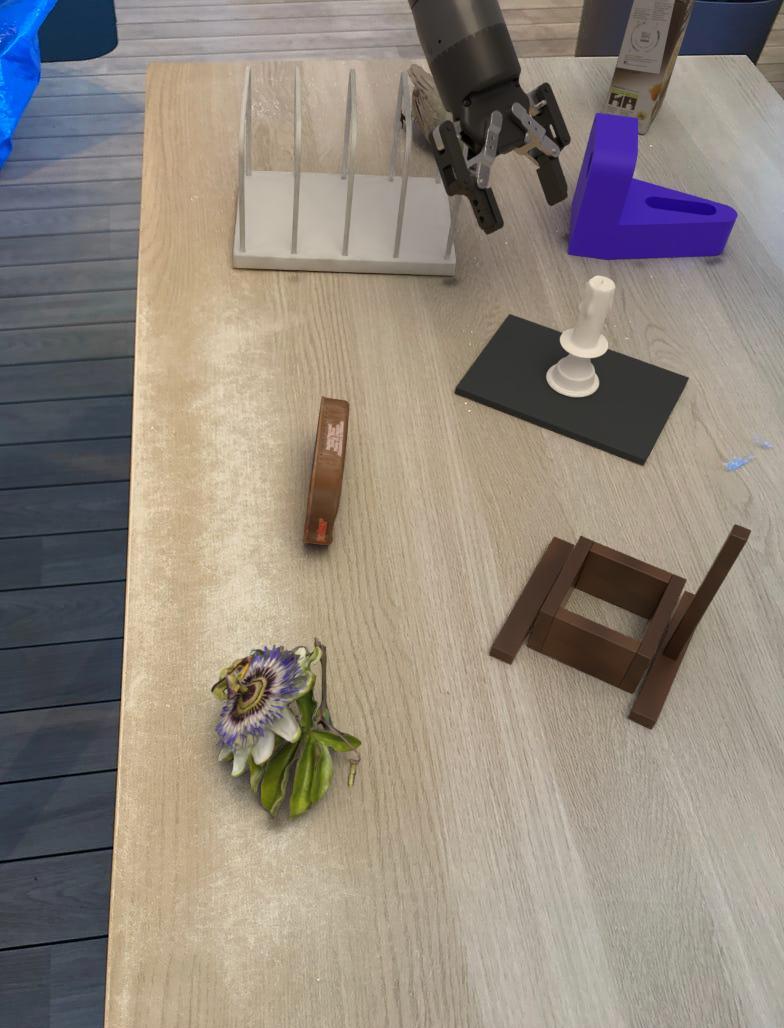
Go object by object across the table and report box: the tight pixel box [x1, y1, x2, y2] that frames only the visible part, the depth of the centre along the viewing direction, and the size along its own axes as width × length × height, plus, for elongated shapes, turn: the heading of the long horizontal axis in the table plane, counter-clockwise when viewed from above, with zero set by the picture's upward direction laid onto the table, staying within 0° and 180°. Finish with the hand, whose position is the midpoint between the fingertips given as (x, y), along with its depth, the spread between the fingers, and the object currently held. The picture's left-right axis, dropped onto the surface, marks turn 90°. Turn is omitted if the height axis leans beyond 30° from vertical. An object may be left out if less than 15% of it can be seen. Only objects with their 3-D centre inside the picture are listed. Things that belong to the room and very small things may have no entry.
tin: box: [302, 395, 350, 546], centre depth 88 cm, size 15×3×8 cm, turn 175°
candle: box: [546, 275, 616, 397], centre depth 96 cm, size 5×5×12 cm
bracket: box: [567, 112, 739, 261], centre depth 113 cm, size 18×11×12 cm, turn 79°
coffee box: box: [602, 0, 696, 135], centre depth 128 cm, size 9×6×16 cm
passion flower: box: [210, 636, 362, 822], centre depth 73 cm, size 11×11×12 cm
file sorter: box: [232, 65, 466, 276], centre depth 111 cm, size 25×17×16 cm
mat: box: [454, 313, 690, 466], centre depth 101 cm, size 20×14×1 cm
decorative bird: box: [400, 63, 464, 153], centre depth 125 cm, size 5×16×8 cm, turn 33°
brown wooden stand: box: [488, 523, 752, 730], centre depth 77 cm, size 14×14×16 cm
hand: (527, 216), depth 95 cm, fingers open, 8 cm apart
